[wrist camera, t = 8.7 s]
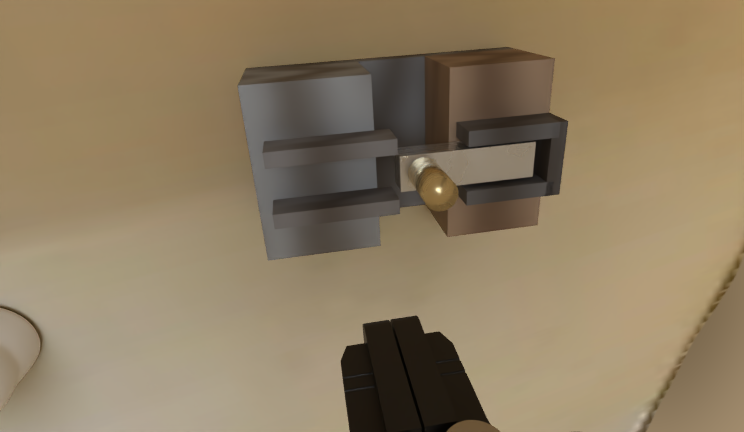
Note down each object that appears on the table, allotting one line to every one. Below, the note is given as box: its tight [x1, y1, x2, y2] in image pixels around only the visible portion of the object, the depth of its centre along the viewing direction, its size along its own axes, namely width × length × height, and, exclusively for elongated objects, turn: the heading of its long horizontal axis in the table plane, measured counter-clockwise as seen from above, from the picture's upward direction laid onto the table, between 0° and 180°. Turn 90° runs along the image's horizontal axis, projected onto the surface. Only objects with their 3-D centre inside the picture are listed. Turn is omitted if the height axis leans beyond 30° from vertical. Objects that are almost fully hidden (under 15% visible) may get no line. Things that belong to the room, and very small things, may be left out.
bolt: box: [394, 140, 536, 211], centre depth 30 cm, size 9×2×6 cm, turn 93°
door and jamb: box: [238, 47, 568, 260], centre depth 34 cm, size 20×12×10 cm, turn 93°
